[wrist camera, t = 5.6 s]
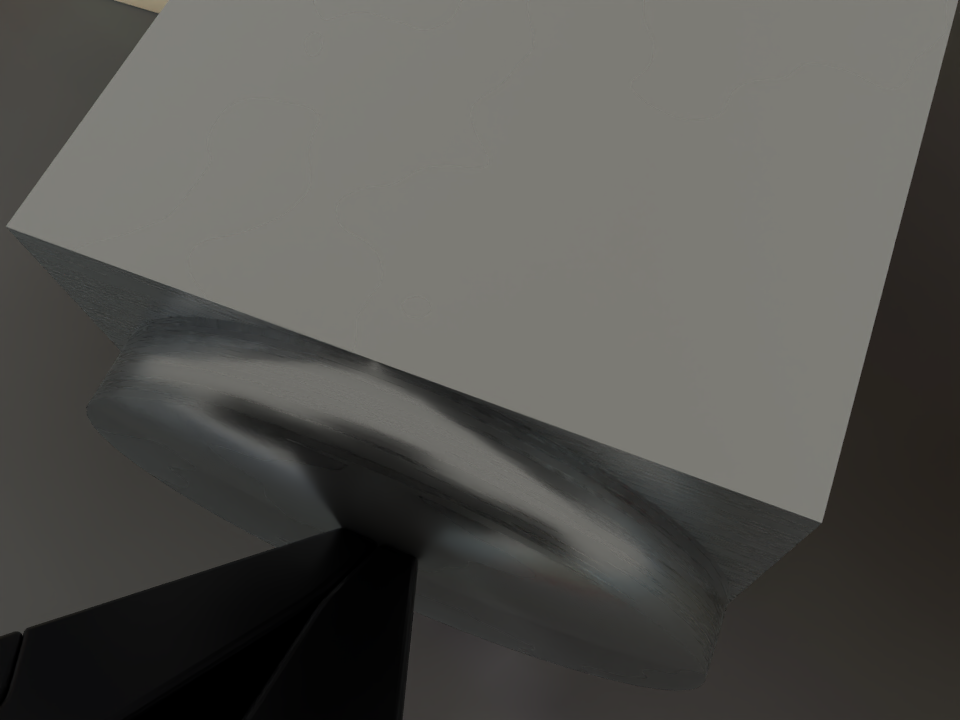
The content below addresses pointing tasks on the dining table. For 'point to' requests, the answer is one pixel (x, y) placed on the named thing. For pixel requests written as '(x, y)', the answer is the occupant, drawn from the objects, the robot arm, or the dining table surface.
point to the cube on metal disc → (502, 287)
